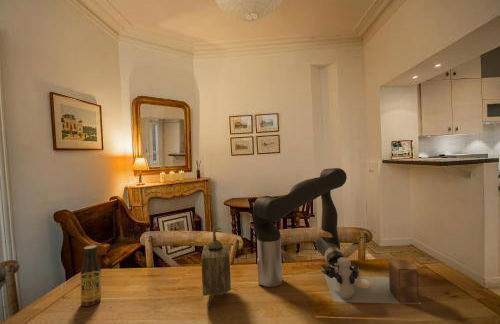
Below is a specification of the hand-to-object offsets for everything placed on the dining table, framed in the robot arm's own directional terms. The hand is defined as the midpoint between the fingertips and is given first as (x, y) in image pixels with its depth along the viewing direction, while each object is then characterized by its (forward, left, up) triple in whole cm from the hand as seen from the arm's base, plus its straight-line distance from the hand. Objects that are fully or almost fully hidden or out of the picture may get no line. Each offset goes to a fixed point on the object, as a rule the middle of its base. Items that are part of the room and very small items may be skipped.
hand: (346, 281), depth 84 cm
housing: (+19, +3, -7) cm, 20 cm away
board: (+9, +8, -7) cm, 14 cm away
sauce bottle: (-89, -4, -7) cm, 89 cm away
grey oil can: (-44, +1, -7) cm, 45 cm away
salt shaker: (0, +3, -7) cm, 7 cm away
